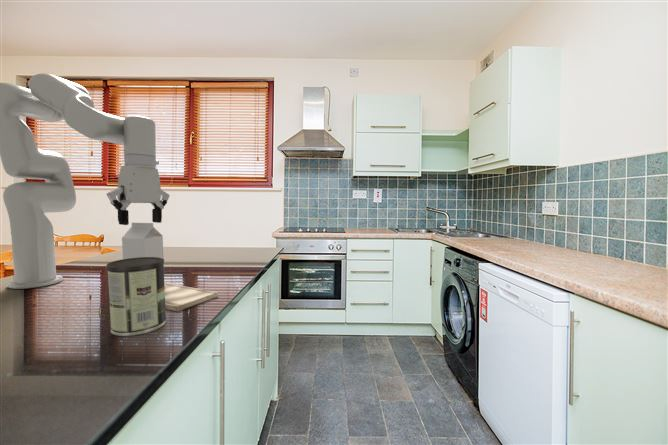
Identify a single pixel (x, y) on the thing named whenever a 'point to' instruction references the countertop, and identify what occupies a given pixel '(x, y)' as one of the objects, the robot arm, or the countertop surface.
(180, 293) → the beech board
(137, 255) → the milk carton
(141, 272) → the coffee can
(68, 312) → the countertop surface
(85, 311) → the countertop surface
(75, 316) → the countertop surface
